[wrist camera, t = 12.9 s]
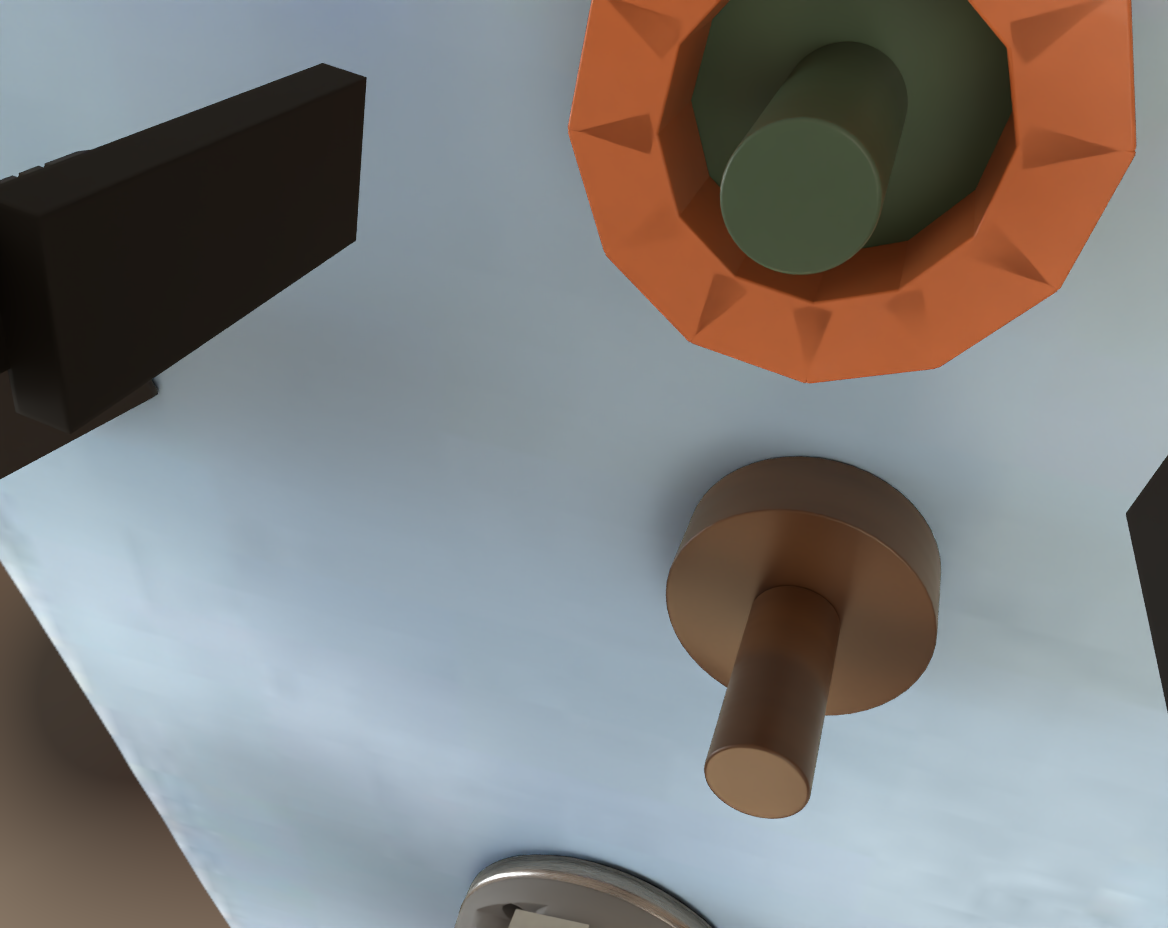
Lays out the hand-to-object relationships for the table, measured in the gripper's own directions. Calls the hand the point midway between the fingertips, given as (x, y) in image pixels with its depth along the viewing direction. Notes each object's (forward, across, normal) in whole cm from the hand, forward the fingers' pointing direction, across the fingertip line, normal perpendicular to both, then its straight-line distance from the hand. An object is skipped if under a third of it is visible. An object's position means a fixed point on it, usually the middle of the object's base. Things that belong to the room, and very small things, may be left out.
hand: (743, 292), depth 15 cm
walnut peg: (+13, -4, +14) cm, 20 cm away
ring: (+10, 0, -1) cm, 10 cm away
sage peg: (+13, 0, -1) cm, 13 cm away
